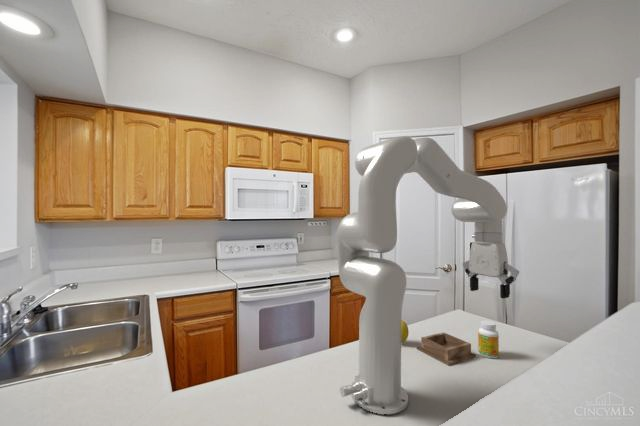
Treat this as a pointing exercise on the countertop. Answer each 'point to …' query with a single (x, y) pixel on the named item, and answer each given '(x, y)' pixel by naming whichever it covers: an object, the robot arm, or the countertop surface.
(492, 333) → the supplement bottle
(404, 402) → the robot arm
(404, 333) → the lemon
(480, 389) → the countertop surface
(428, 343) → the brown square bottle holder
